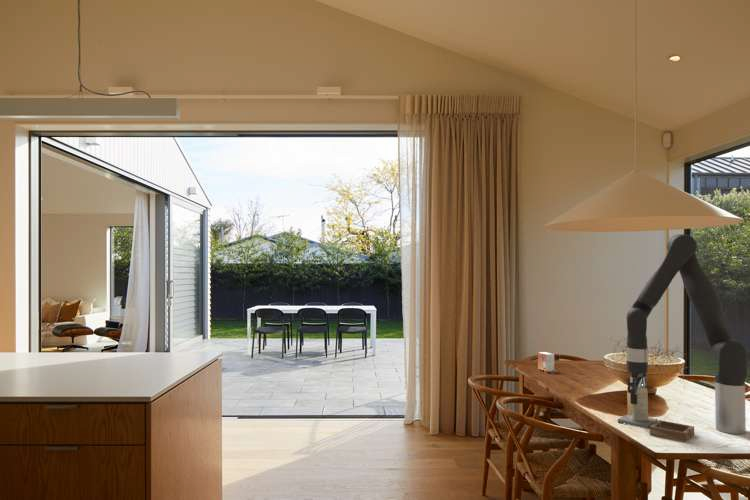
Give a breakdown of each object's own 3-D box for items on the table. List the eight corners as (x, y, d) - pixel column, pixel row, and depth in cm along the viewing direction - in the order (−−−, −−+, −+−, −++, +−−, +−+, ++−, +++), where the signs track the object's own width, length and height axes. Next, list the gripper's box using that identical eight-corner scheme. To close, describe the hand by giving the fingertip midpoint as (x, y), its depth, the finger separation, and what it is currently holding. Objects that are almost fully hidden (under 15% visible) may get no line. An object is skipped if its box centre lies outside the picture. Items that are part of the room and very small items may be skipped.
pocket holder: (659, 428, 199) (659, 420, 199) (694, 434, 191) (694, 426, 191) (649, 435, 191) (649, 426, 191) (685, 442, 183) (685, 433, 183)
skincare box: (643, 417, 208) (642, 386, 209) (648, 421, 204) (648, 388, 204) (626, 417, 208) (626, 386, 209) (632, 421, 204) (631, 388, 204)
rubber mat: (627, 416, 214) (627, 413, 214) (657, 422, 207) (657, 419, 207) (617, 422, 206) (617, 419, 206) (648, 428, 199) (648, 425, 199)
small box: (537, 370, 311) (537, 352, 311) (546, 369, 313) (545, 351, 313) (546, 372, 303) (546, 354, 304) (554, 372, 305) (554, 353, 305)
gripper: (641, 363, 199) (641, 407, 199) (653, 358, 210) (653, 400, 209) (620, 360, 205) (620, 403, 204) (633, 356, 215) (633, 397, 214)
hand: (637, 402), depth 207 cm, fingers open, 8 cm apart
